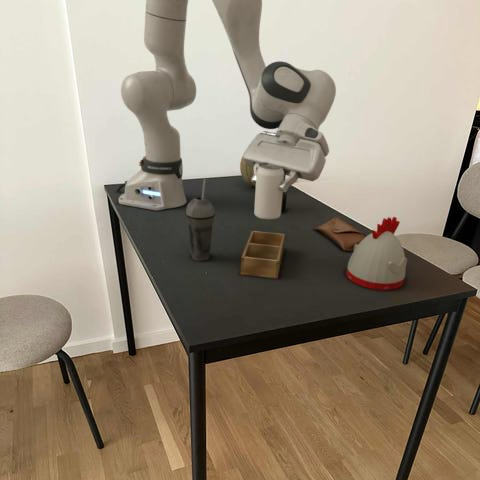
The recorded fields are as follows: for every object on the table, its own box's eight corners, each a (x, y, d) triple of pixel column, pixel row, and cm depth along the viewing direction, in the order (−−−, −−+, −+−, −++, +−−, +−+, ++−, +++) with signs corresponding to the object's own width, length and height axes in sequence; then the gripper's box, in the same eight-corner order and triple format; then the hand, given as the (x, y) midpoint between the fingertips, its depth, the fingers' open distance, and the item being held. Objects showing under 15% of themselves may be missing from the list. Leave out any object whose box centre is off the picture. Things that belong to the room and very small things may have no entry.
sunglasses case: (312, 227, 138) (324, 208, 136) (327, 236, 142) (339, 217, 140) (344, 251, 124) (359, 230, 122) (361, 260, 128) (375, 240, 126)
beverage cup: (182, 253, 120) (180, 176, 109) (208, 249, 122) (209, 174, 112) (191, 264, 114) (190, 184, 104) (218, 261, 117) (220, 182, 106)
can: (278, 221, 108) (283, 169, 101) (251, 218, 109) (254, 167, 102) (282, 212, 113) (286, 163, 107) (256, 210, 114) (259, 160, 108)
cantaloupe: (274, 194, 166) (277, 151, 158) (235, 189, 169) (236, 147, 161) (280, 183, 178) (284, 143, 170) (244, 179, 181) (245, 139, 173)
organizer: (240, 274, 111) (241, 257, 108) (250, 246, 126) (251, 230, 123) (277, 278, 110) (279, 261, 107) (283, 249, 124) (285, 234, 122)
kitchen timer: (415, 281, 112) (431, 223, 104) (376, 295, 105) (390, 233, 97) (373, 260, 121) (385, 204, 113) (334, 271, 115) (344, 213, 107)
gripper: (254, 121, 111) (227, 170, 109) (329, 134, 100) (300, 188, 99) (264, 138, 116) (238, 185, 115) (335, 152, 106) (308, 203, 104)
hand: (267, 186), depth 107 cm, fingers closed on can, 6 cm apart
